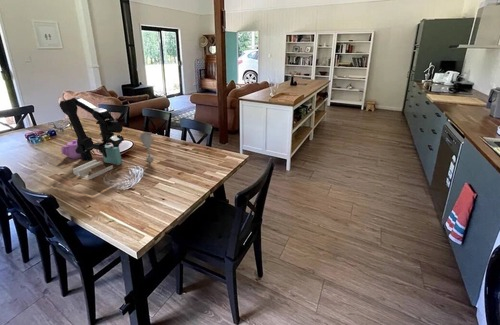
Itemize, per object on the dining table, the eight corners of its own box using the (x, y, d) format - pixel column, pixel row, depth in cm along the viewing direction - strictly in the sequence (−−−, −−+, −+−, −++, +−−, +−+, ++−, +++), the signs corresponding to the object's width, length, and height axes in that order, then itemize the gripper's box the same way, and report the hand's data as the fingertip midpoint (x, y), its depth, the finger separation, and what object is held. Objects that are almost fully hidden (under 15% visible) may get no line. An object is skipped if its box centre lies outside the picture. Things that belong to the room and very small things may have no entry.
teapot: (98, 152, 191) (95, 137, 186) (70, 162, 175) (65, 146, 170) (87, 149, 197) (83, 134, 192) (58, 158, 181) (53, 143, 176)
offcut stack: (88, 175, 155) (86, 169, 154) (103, 168, 163) (101, 163, 162) (94, 176, 153) (92, 170, 152) (108, 169, 162) (107, 164, 160)
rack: (74, 176, 156) (72, 169, 154) (96, 166, 169) (95, 159, 167) (91, 180, 151) (89, 173, 150) (113, 169, 164) (111, 163, 162)
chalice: (143, 162, 174) (139, 135, 167) (144, 158, 180) (140, 132, 173) (155, 161, 176) (151, 134, 168) (156, 157, 182) (152, 131, 174)
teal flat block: (118, 165, 168) (115, 149, 164) (104, 162, 173) (100, 146, 168) (122, 163, 171) (118, 147, 166) (108, 160, 175) (104, 144, 171)
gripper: (102, 137, 153) (108, 162, 159) (128, 128, 168) (132, 151, 175) (88, 135, 156) (95, 159, 163) (114, 126, 172) (119, 149, 178)
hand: (111, 155), depth 170 cm, fingers open, 8 cm apart
